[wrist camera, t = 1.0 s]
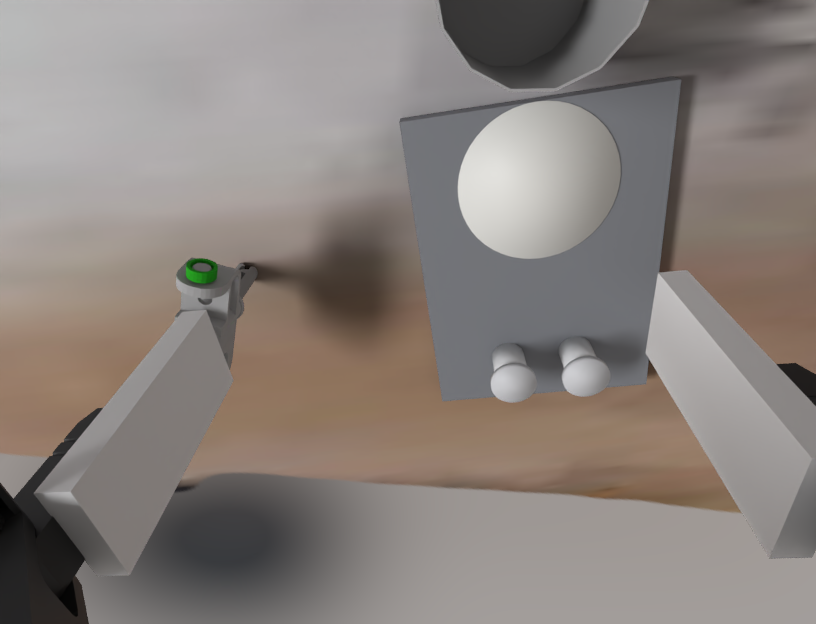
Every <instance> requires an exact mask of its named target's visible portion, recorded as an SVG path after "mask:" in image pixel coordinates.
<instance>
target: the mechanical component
mask: <svg viewBox="0 0 816 624" xmlns="http://www.w3.org/2000/svg"><path fill="white" fill-rule="evenodd" d="M257 275H258V272H257V269H256V268H255V267H250V268H249V270H248V269H245V265H244V264H242V263H240V264H239V265H238V266H237V267H236V269H234V268H230V267H226V266H223V265H219V264H216V263H215V262H213V261H211V260H208V259H195V258H190V259H189V260H188V261H187V262H186V263H185V264H184V265H183V266H182V267H181V268H180V269H179V270H178V272H177V274H176V286H177V288H178V290H179V291H181V310H180V311H179V312H178V313H177V315H176V316H175V320H176V319H177V318H178V316H179V315H180V314H181V313H182V312H185V311H198V310H207V313H208V316H209V318H210V321H211V323H212V326H213V329H214V331H215V334H216V336H217V339H218V342H219V344H220V347H221V349H222V352H223V355H224V357H225V360H226V362H227V365H228V367H229V370H230V367H231V363H232V357H233V348H234V339H235V329H236V320H237V319H238V318H239V317H240V316H241V315H242V313H243V311H244V303H243V300H242V299H243V297H244V296H245V294H246V293H247V291H248V290H249V288H250V287H251V285H252V284H253V282H254V280H255V279H256V277H257Z"/></svg>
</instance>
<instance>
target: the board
mask: <svg viewBox="0 0 816 624" xmlns="http://www.w3.org/2000/svg"><path fill="white" fill-rule="evenodd" d="M680 87H681V79H679V78H676V77H667V78H661V79H654V80H648V81H641V82H635V83H628V84H622V85H615V86H609V87H602V88H596V89H589V90H583V91H576V92H570V93H563V94H557V95H550V96H544V97H537V98H531V99H524V100H518V101H511V102H505V103H498V104H492V105H485V106H479V107H472V108H466V109H459V110H453V111H446V112H440V113H433V114H427V115H420V116H414V117H407V118H401V119H400V122H399V123H400V129H401V136H402V142H403V149H404V155H405V162H406V168H407V175H408V181H409V187H410V194H411V200H412V207H413V213H414V220H415V226H416V233H417V239H418V246H419V252H420V259H421V265H422V272H423V278H424V285H425V291H426V298H427V304H428V310H429V317H430V323H431V330H432V336H433V343H434V349H435V356H436V362H437V369H438V375H439V382H440V388H441V395H442V401H451V400H463V399H475V398H487V397H497V398H498V399H500V400H502V401H505V402H519V401H523V400H525V399H527V398H529V397H530V396H531V395H532V394H535V393H547V392H558V391H568V392H569V393H571V394H573V395H576V396H591V395H595V394H597V393H599V392H601V391H602V390H603V389H604V388H606V387H618V386H630V385H642V384H646V381H647V372H648V363H649V358H648V356H647V355H646V346H647V340H648V333H649V327H650V321H651V314H652V308H653V301H654V295H655V289H656V282H657V276H658V273H659V269H660V260H661V251H662V243H663V234H664V225H665V217H666V208H667V200H668V191H669V182H670V174H671V165H672V156H673V148H674V139H675V131H676V122H677V113H678V105H679V96H680Z"/></svg>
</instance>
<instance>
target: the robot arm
mask: <svg viewBox="0 0 816 624" xmlns="http://www.w3.org/2000/svg"><path fill="white" fill-rule="evenodd" d="M646 355H647V356H648V358H649V360H650V361H651V363H652V365H653V366H654V368H655V370H656V371H657V373H658V375H659V376H660V378H661V380H662V381H663V383H664V385H665V386H666V388H667V390H668V391H669V393H670V395H671V396H672V398H673V400H674V401H675V403H676V405H677V406H678V408H679V410H680V411H681V413H682V415H683V416H684V418H685V420H686V421H687V423H688V424H689V426H690V428H691V429H692V431H693V433H694V434H695V436H696V438H697V439H698V441H699V443H700V444H701V446H702V448H703V449H704V451H705V453H706V454H707V456H708V458H709V459H710V461H711V463H712V464H713V466H714V468H715V469H716V471H717V473H718V474H719V476H720V478H721V479H722V481H723V483H724V484H725V486H726V488H727V489H728V491H729V493H730V494H731V496H732V498H733V499H734V501H735V503H736V504H737V506H738V507H739V509H740V511H741V512H742V514H743V516H744V517H745V519H746V521H747V522H748V524H749V526H750V527H751V529H752V531H753V532H754V534H755V536H756V537H757V539H758V541H759V542H760V544H761V546H762V547H763V549H764V551H765V552H766V554H767V556H768V557H769V558H771V559H772V558H808V557H813V555H814V553H815V551H816V374H814V373H812V372H810V371H809V370H807V369H805V368H803V367H802V366H800V365H798V364H796V363H789V364H775V363H774V362H773V361H772V359H771V358H770V357H769V356H768V355H767V354H766V353H765V352H764V351H763V350H762V349H761V348H760V347H759V346H758V345H757V344H756V343H755V342H754V340H753V339H752V338H751V337H750V336H749V335H748V334H747V333H746V332H745V331H744V330H743V329H742V328H741V327H740V326H739V325H738V324H737V322H736V321H735V320H734V319H733V318H732V317H731V316H730V315H729V314H728V313H727V312H726V311H725V310H724V309H723V308H722V307H721V306H720V304H719V303H718V302H717V301H716V300H715V299H714V298H713V297H712V296H711V295H710V294H709V293H708V292H707V291H706V290H705V289H704V288H703V287H702V285H701V284H700V283H699V282H698V281H697V280H696V279H695V278H694V277H693V276H692V275H691V274H690V273H689V272H688V271H687V270H683V271H671V272H659V273H658V276H657V282H656V289H655V295H654V301H653V308H652V314H651V321H650V327H649V333H648V340H647V346H646ZM233 381H234V380H233V378H232V375H231V373H230V370H229V367H228V365H227V362H226V360H225V357H224V355H223V352H222V349H221V347H220V344H219V342H218V339H217V336H216V334H215V331H214V329H213V326H212V323H211V321H210V318H209V316H208V313H207V310H198V311H185V312H182V313H181V314H180V315H179V316H178V318H177V319H176V320H175V321H174V323H173V324H172V325H171V326H170V327H169V329H168V330H167V331H166V332H165V333H164V335H163V336H162V337H161V338H160V340H159V341H158V342H157V343H156V344H155V346H154V347H153V348H152V349H151V351H150V352H149V353H148V354H147V355H146V357H145V358H144V359H143V360H142V362H141V363H140V364H139V365H138V366H137V368H136V369H135V370H134V371H133V373H132V374H131V375H130V376H129V377H128V379H127V380H126V381H125V382H124V383H123V385H122V386H121V387H120V388H119V390H118V391H117V392H116V393H115V394H114V396H113V397H112V398H111V399H110V401H109V402H108V403H107V404H106V405H105V407H104V408H97V409H96V410H95V411H93V412H92V413H91V414H89V415H88V416H87V417H85V418H84V419H83V420H81V421H80V422H79V423H78V424H77V425H76V426H75V427H74V428H73V429H72V431H71V432H70V433H69V434H68V435H67V436H66V438H65V439H64V442H63V443H60V445H59V446H58V447H57V448H56V449H55V451H54V452H53V456H49V458H48V459H47V460H46V461H45V462H44V463H43V465H42V466H41V467H40V468H39V469H38V471H37V472H36V473H35V474H34V475H33V477H32V478H31V479H30V480H29V481H28V482H27V484H26V485H25V486H24V487H23V488H22V489H21V491H20V492H19V493H18V494H17V495H16V497H15V498H14V499H13V498H12V497H11V496H10V494H9V493H8V492H7V491H6V489H5V488H4V487H3V486H2V484H1V483H0V624H89V623H88V617H87V612H86V606H85V601H84V596H83V590H82V585H81V584H80V582H79V580H78V579H77V577H76V576H75V574H76V573H77V571H78V570H79V568H80V567H81V565H82V563H83V562H84V560H85V561H86V563H87V564H88V565H89V566H90V568H91V569H92V570H93V572H94V573H95V574H96V576H119V575H130V573H131V571H132V569H133V568H134V566H135V564H136V562H137V560H138V558H139V556H140V555H141V553H142V551H143V549H144V547H145V545H146V543H147V541H148V540H149V537H150V536H151V534H152V532H153V530H154V528H155V526H156V525H157V523H158V521H159V519H160V517H161V515H162V513H163V512H164V510H165V508H166V506H167V504H168V502H169V500H170V498H171V496H172V495H173V493H174V491H175V489H176V487H177V485H178V483H179V482H180V480H181V478H182V476H183V474H184V472H185V470H186V468H187V467H188V465H189V463H190V461H191V459H192V457H193V455H194V454H195V452H196V450H197V448H198V446H199V444H200V442H201V440H202V439H203V437H204V435H205V433H206V431H207V429H208V427H209V425H210V424H211V422H212V420H213V418H214V416H215V414H216V412H217V410H218V409H219V407H220V405H221V403H222V401H223V399H224V397H225V396H226V394H227V392H228V390H229V388H230V386H231V384H232V382H233Z"/></svg>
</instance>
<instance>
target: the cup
mask: <svg viewBox="0 0 816 624" xmlns="http://www.w3.org/2000/svg"><path fill="white" fill-rule="evenodd" d="M435 1H436V7H437V12H438V17H439V23H440V27H441V31H442V32H443V34H444V35H445V37H446V38H447V39H448V41H449V42H450V44H451V45H452V47H453V48H454V50H455V51H456V52H457V54H458V55H459V57H460V58H461V60H462V61H463V63H464V64H465V65H466V67H467V68H468V70H469V71H470V72H472V73H474V74H476V75H478V76H480V77H482V78H484V79H486V80H487V81H489V82H491V83H493V84H495V85H497V86H499V87H501V88H503V89H505V90H507V91H508V92H556V91H558V90H560V89H562V88H564V87H566V86H568V85H570V84H572V83H574V82H576V81H578V80H580V79H582V78H584V77H586V76H588V75H590V74H592V73H594V72H596V71H598V70H600V69H601V68H602V67H603V66H604V65H605V64H606V63H607V62H608V61H609V59H610V58H611V57H612V56H613V55H614V54H615V53H616V52H617V50H618V49H619V48H620V47H621V46H622V45H623V44H624V43H625V41H626V40H627V39H628V38H629V37H630V36H631V35H632V34H633V32H634V31H635V30H636V29H637V28H638V27H639V25H640V22H641V20H642V17H643V15H644V12H645V10H646V7H647V5H648V2H649V0H435Z"/></svg>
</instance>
